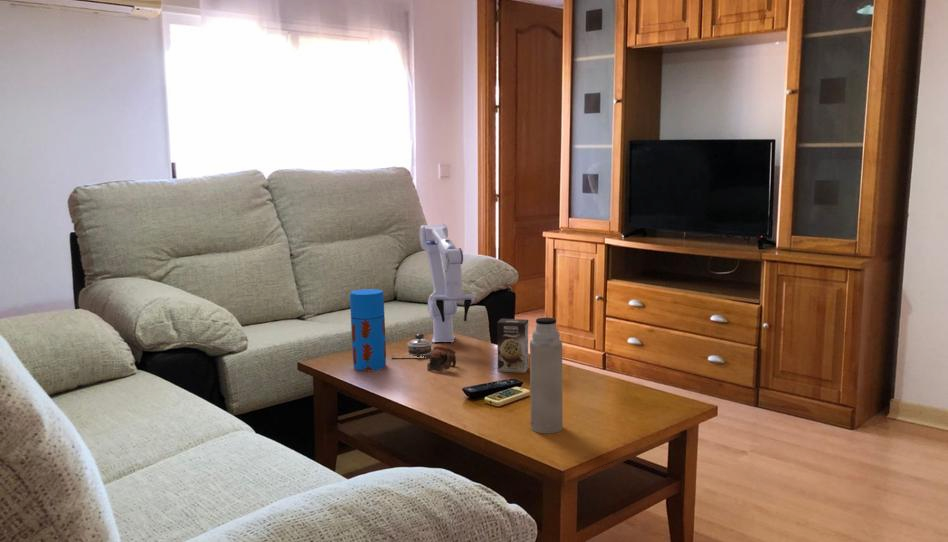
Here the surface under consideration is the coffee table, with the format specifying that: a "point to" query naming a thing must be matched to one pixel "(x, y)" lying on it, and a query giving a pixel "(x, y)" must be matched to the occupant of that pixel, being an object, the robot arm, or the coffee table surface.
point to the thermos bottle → (546, 377)
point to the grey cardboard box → (513, 345)
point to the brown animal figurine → (441, 358)
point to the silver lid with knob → (419, 340)
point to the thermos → (368, 329)
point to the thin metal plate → (420, 350)
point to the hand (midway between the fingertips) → (454, 321)
